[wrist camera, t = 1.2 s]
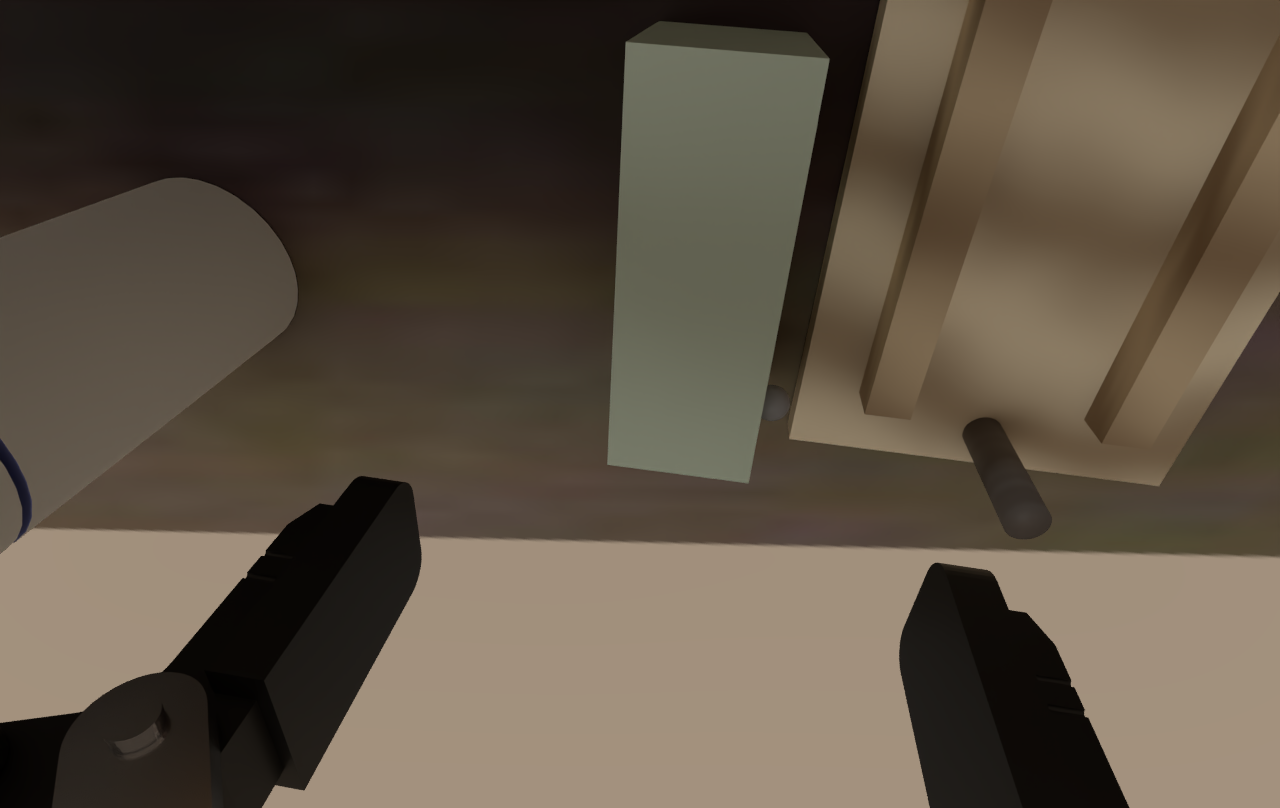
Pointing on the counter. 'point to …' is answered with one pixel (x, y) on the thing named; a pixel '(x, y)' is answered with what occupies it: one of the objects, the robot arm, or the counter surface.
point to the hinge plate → (1047, 237)
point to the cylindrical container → (124, 330)
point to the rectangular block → (706, 239)
